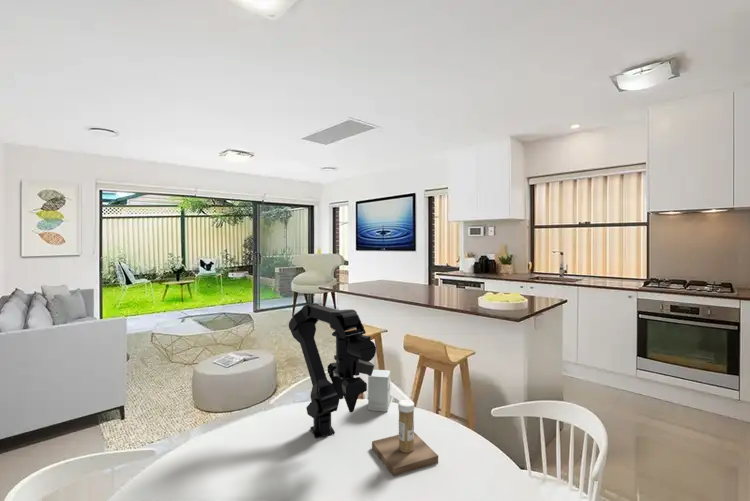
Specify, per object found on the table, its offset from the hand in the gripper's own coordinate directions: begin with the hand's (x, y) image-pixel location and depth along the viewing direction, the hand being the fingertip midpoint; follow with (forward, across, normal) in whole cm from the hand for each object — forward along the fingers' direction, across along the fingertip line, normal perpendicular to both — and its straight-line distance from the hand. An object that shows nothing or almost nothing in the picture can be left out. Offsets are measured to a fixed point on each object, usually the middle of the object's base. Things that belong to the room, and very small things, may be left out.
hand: (346, 405), depth 106 cm
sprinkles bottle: (+11, -10, -14) cm, 21 cm away
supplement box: (+13, +20, -20) cm, 31 cm away
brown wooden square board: (+13, -10, -14) cm, 22 cm away
